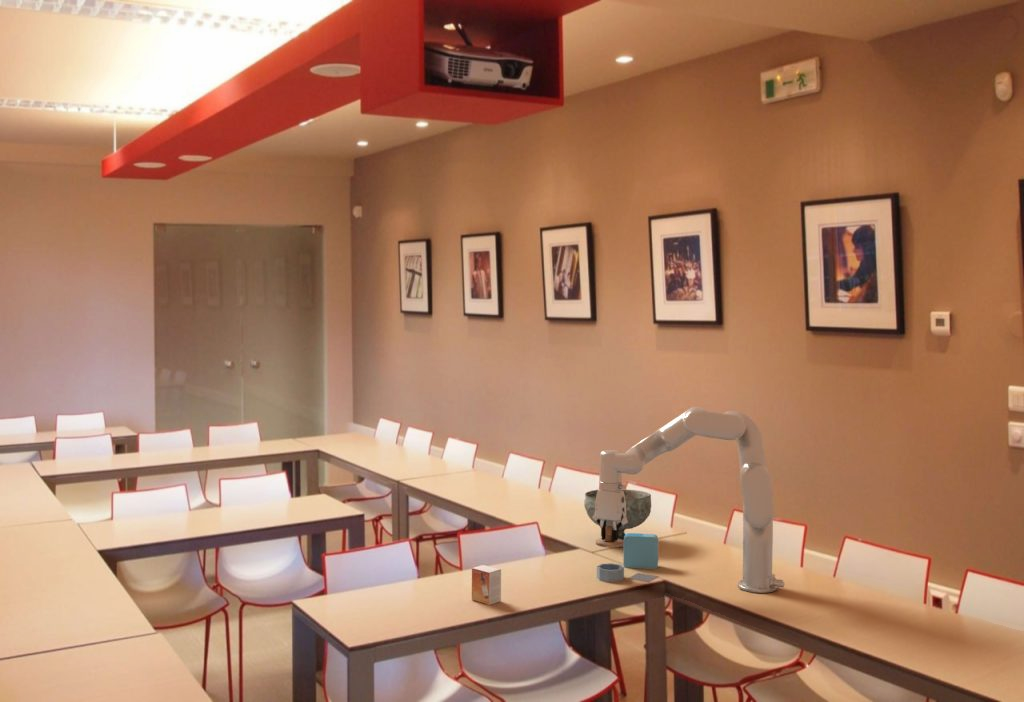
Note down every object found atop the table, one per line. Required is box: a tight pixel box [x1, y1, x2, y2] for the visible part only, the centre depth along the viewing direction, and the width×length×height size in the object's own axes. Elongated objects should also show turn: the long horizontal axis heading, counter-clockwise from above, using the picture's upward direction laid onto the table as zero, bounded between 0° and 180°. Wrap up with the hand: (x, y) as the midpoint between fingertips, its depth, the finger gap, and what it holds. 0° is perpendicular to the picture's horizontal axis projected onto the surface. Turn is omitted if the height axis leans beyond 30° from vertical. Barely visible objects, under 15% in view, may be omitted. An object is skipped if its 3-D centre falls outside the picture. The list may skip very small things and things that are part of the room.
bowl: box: [596, 562, 625, 583], centre depth 335 cm, size 9×9×4 cm
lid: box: [595, 526, 624, 549], centre depth 335 cm, size 10×10×6 cm
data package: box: [622, 532, 659, 570], centre depth 350 cm, size 12×4×12 cm, turn 79°
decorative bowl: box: [583, 488, 652, 548], centre depth 386 cm, size 26×26×20 cm
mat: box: [627, 572, 660, 583], centre depth 336 cm, size 8×8×1 cm
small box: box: [471, 564, 502, 606], centre depth 313 cm, size 8×6×10 cm
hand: (609, 539), depth 335 cm, fingers closed on lid, 3 cm apart
